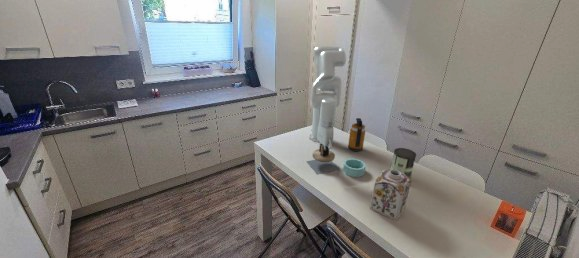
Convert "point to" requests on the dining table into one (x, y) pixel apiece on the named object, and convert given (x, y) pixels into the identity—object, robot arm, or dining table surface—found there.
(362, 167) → the bowl
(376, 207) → the decorative jar
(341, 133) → the dining table surface
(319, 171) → the mat
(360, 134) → the canister
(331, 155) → the lid
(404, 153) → the coffee can
